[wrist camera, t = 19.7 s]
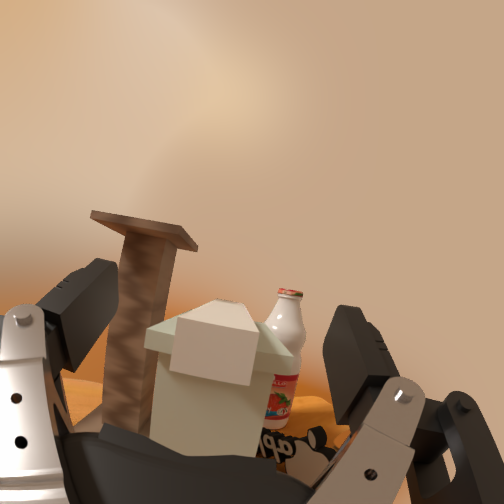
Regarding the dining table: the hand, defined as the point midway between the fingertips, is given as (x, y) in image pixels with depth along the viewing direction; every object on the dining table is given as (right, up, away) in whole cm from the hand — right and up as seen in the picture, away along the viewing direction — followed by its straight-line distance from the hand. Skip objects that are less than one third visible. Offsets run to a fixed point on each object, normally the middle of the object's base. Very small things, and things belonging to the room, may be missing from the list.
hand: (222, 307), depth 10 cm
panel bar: (-2, -5, +16) cm, 17 cm away
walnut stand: (-19, -26, +26) cm, 42 cm away
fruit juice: (+4, -33, +44) cm, 55 cm away
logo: (+5, -31, +27) cm, 41 cm away
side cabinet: (-6, -28, +19) cm, 34 cm away
